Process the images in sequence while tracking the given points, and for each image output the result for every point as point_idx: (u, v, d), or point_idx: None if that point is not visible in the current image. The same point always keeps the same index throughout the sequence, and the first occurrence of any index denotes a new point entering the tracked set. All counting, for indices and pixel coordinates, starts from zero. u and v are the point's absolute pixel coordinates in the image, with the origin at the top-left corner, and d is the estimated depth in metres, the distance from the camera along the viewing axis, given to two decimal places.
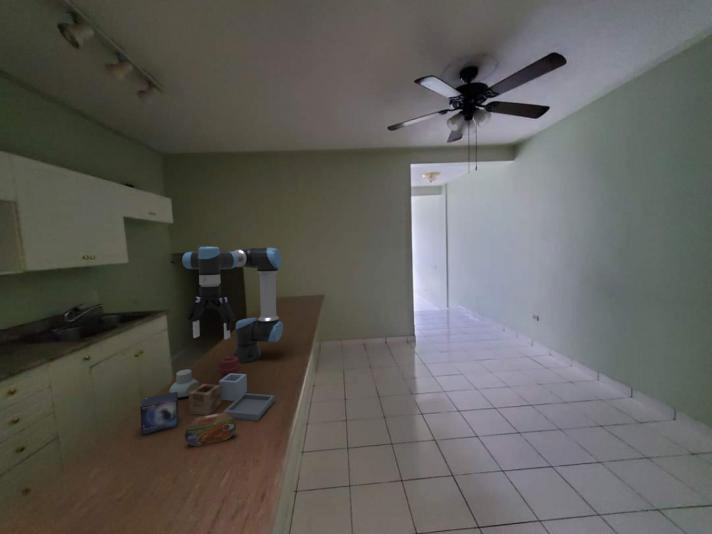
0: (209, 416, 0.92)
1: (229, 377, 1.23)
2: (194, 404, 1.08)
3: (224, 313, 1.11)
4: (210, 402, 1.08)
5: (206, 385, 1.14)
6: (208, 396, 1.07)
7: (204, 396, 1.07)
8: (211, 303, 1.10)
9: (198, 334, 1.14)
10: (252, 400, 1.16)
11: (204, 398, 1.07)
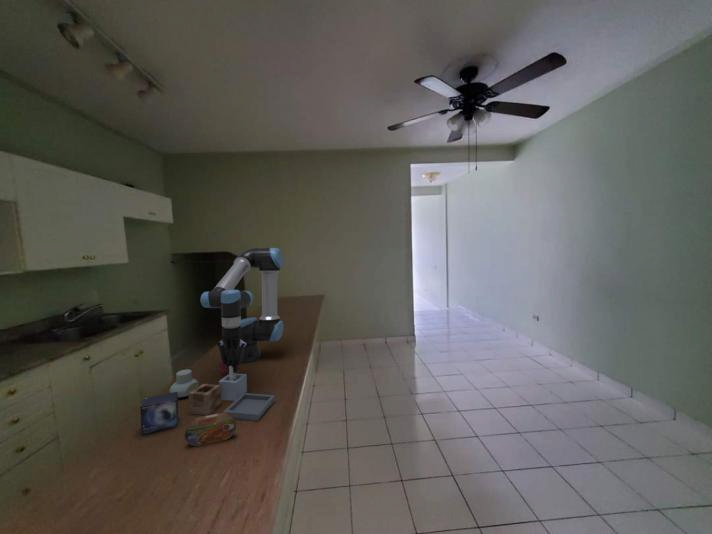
0: (209, 416, 0.92)
1: None
2: (194, 404, 1.08)
3: (236, 356, 1.20)
4: (210, 402, 1.08)
5: (206, 385, 1.14)
6: (208, 396, 1.07)
7: (204, 396, 1.07)
8: (232, 344, 1.18)
9: None
10: (252, 400, 1.16)
11: (204, 398, 1.07)
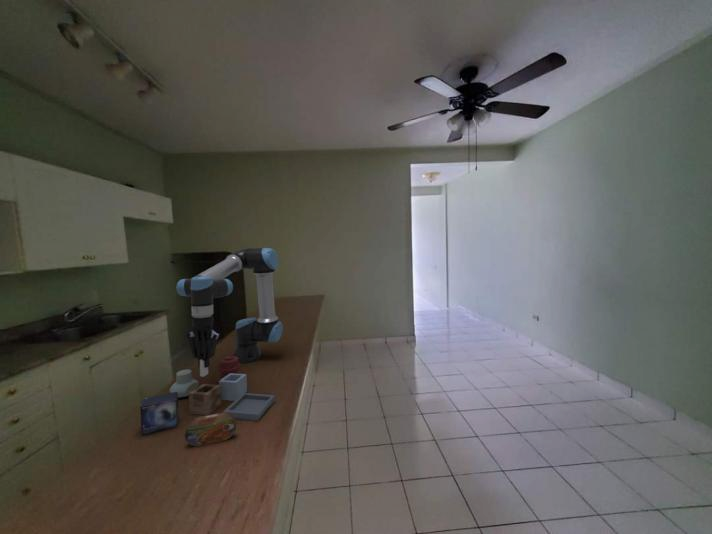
0: (209, 416, 0.92)
1: (229, 377, 1.23)
2: (194, 404, 1.08)
3: (207, 349, 1.10)
4: (210, 402, 1.08)
5: (206, 385, 1.14)
6: (208, 396, 1.07)
7: (204, 396, 1.07)
8: (202, 335, 1.08)
9: None
10: (252, 400, 1.16)
11: (204, 398, 1.07)
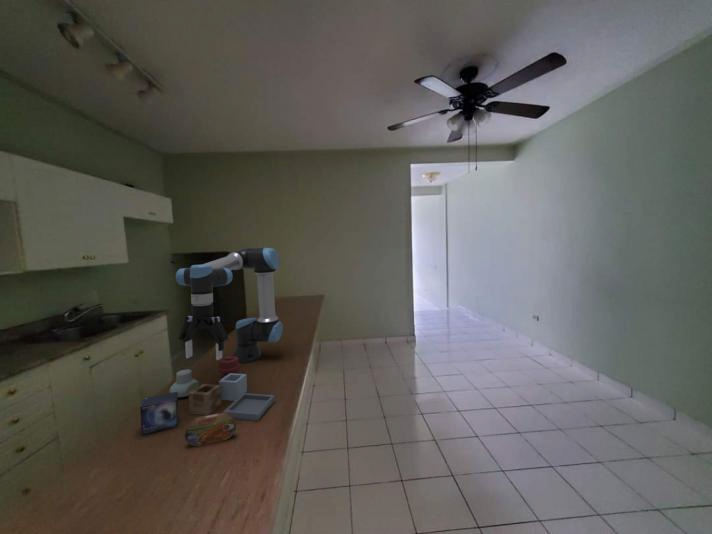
0: (209, 416, 0.92)
1: (229, 377, 1.23)
2: (194, 404, 1.08)
3: (216, 333, 1.09)
4: (210, 402, 1.08)
5: (206, 385, 1.14)
6: (208, 396, 1.07)
7: (204, 396, 1.07)
8: (203, 323, 1.08)
9: (191, 354, 1.12)
10: (252, 400, 1.16)
11: (204, 398, 1.07)
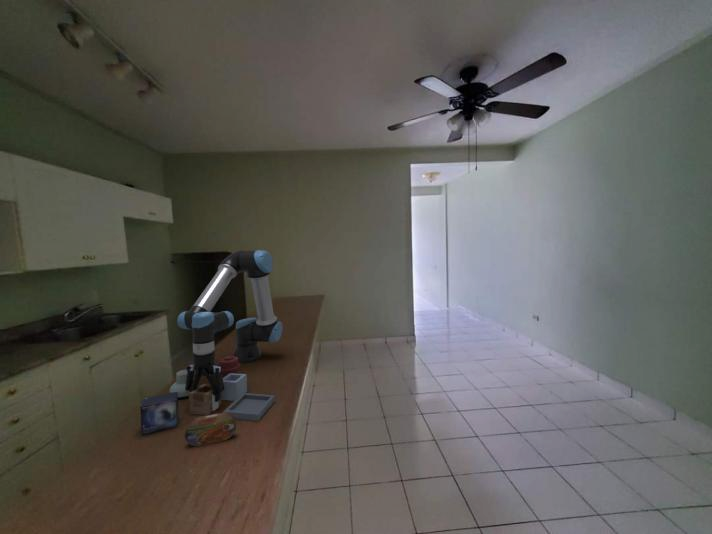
0: (209, 416, 0.92)
1: (229, 377, 1.23)
2: (194, 404, 1.08)
3: (214, 383, 1.10)
4: (210, 402, 1.08)
5: (206, 385, 1.14)
6: (208, 396, 1.07)
7: (204, 396, 1.07)
8: (204, 371, 1.09)
9: None
10: (252, 400, 1.16)
11: (204, 398, 1.07)
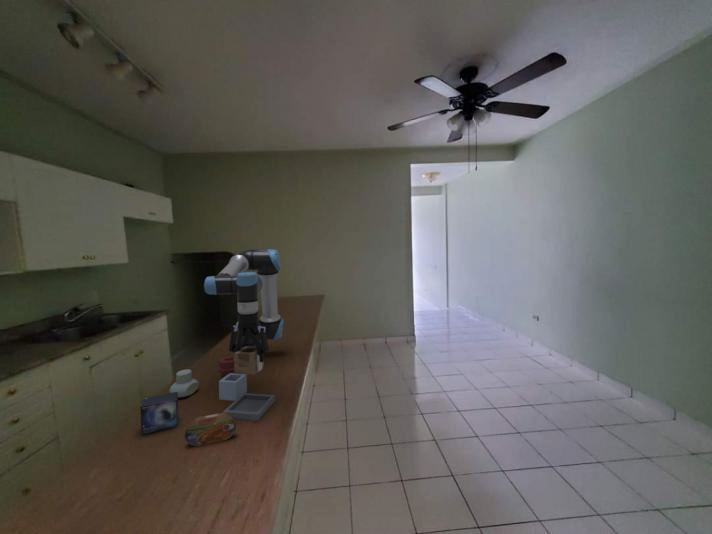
0: (209, 416, 0.92)
1: (229, 377, 1.23)
2: (239, 364, 1.06)
3: (259, 343, 1.09)
4: (255, 362, 1.07)
5: (249, 347, 1.13)
6: (254, 356, 1.06)
7: (250, 356, 1.05)
8: (249, 331, 1.07)
9: None
10: (252, 400, 1.16)
11: (250, 358, 1.05)
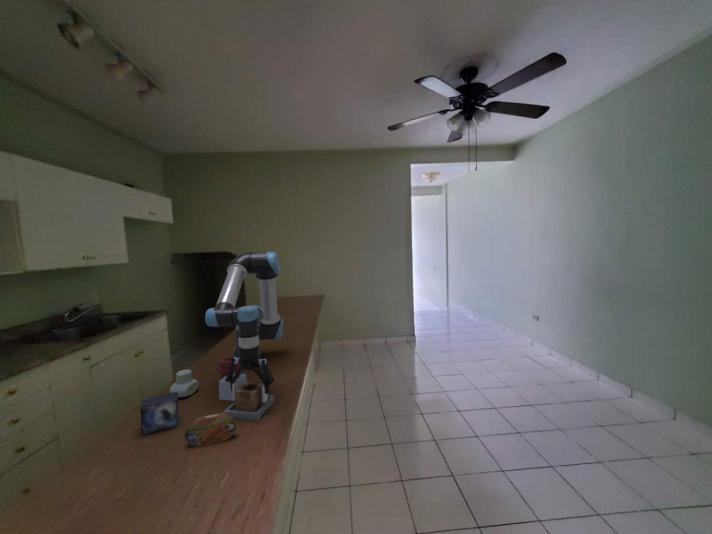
0: (209, 416, 0.92)
1: None
2: (240, 402, 1.07)
3: (263, 375, 1.09)
4: (256, 400, 1.08)
5: (250, 383, 1.14)
6: (255, 394, 1.07)
7: (251, 394, 1.06)
8: (250, 365, 1.08)
9: None
10: None
11: (251, 396, 1.06)
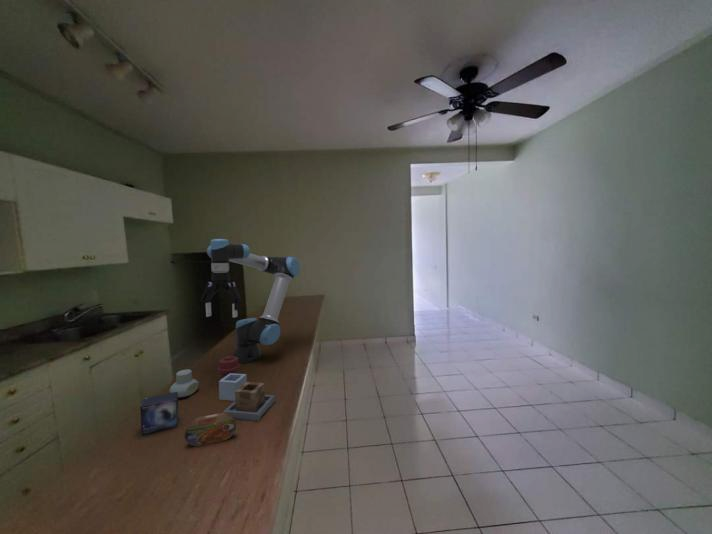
0: (209, 416, 0.92)
1: (229, 377, 1.23)
2: (240, 402, 1.07)
3: (232, 295, 1.31)
4: (256, 400, 1.08)
5: (250, 383, 1.14)
6: (255, 394, 1.07)
7: (251, 394, 1.06)
8: (221, 287, 1.30)
9: (210, 314, 1.34)
10: None
11: (251, 396, 1.06)
